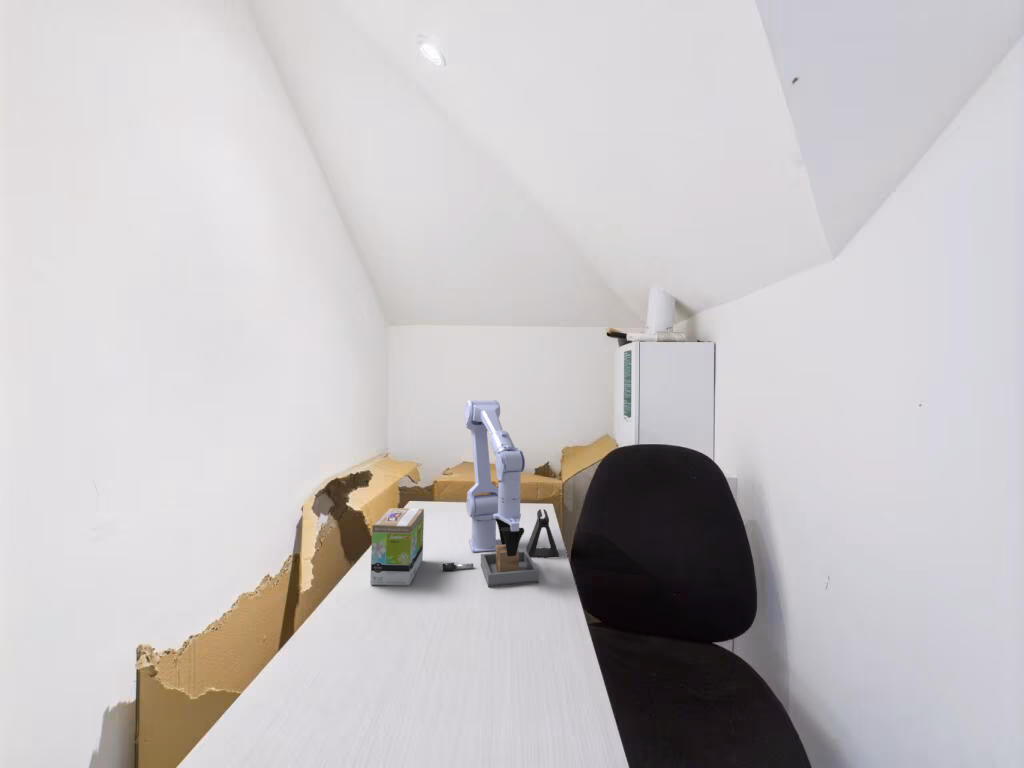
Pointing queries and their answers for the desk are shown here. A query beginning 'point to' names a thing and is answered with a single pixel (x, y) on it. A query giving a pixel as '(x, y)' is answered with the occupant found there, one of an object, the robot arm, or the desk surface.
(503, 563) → the block
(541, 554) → the phone stand
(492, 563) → the tray
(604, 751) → the desk surface
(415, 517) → the tea box
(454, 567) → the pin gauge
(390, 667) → the desk surface
